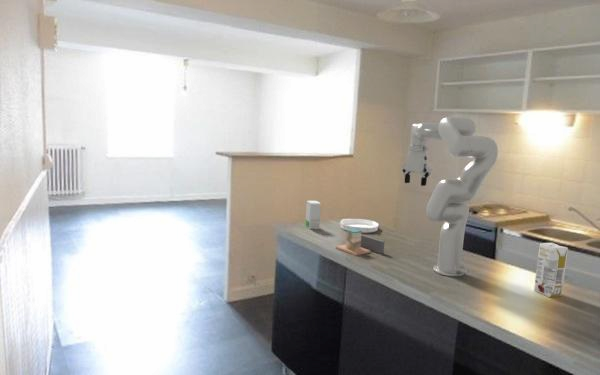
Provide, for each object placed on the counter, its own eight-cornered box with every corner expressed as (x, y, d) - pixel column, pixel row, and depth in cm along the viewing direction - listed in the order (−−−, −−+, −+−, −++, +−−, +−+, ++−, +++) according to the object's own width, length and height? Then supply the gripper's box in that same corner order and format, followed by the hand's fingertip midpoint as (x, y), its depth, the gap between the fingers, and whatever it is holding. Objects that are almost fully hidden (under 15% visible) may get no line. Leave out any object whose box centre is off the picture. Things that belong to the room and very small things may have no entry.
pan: (359, 222, 273) (360, 216, 272) (390, 232, 250) (391, 225, 250) (329, 225, 259) (329, 219, 259) (358, 236, 237) (359, 229, 237)
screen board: (383, 253, 206) (384, 241, 205) (380, 253, 205) (381, 241, 204) (351, 242, 223) (352, 231, 223) (348, 242, 222) (349, 231, 221)
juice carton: (548, 298, 158) (555, 248, 155) (530, 289, 166) (536, 242, 163) (564, 297, 160) (571, 248, 157) (545, 288, 168) (552, 241, 165)
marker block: (360, 248, 208) (361, 231, 207) (353, 250, 205) (354, 232, 204) (353, 246, 212) (354, 228, 211) (345, 247, 209) (346, 229, 208)
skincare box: (305, 226, 255) (306, 200, 253) (315, 225, 257) (316, 200, 255) (309, 229, 247) (310, 203, 245) (320, 229, 249) (321, 202, 247)
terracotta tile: (370, 252, 206) (370, 250, 206) (355, 255, 200) (355, 253, 200) (350, 245, 217) (350, 243, 217) (335, 248, 211) (335, 246, 211)
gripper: (437, 150, 202) (434, 186, 204) (408, 148, 215) (405, 181, 218) (428, 150, 197) (425, 187, 200) (398, 148, 211) (396, 182, 213)
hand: (415, 184), depth 209 cm, fingers open, 9 cm apart
